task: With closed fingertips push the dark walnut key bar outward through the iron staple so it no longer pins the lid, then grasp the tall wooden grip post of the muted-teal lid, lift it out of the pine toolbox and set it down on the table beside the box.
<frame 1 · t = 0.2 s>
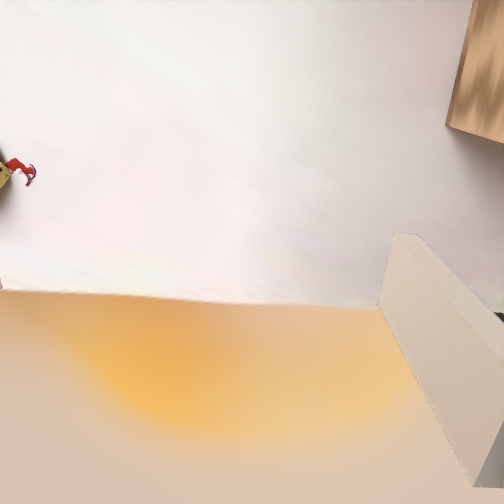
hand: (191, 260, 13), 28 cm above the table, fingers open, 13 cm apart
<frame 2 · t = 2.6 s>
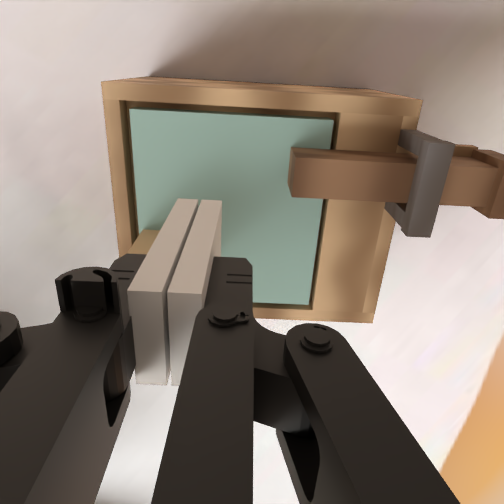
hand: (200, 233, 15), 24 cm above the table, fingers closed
toolbox: (254, 176, 39), on the table
lid: (230, 210, 29), point 10 cm above the table, touching toolbox
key: (396, 177, 25), point 14 cm above the table, slide at 0.0 cm
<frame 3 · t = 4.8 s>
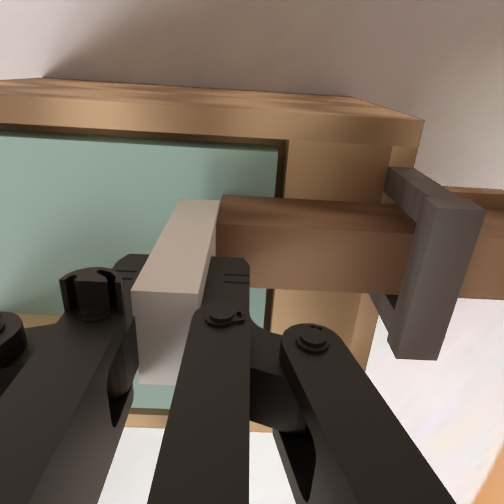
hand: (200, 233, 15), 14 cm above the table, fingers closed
toolbox: (198, 211, 29), on the table
lid: (133, 281, 19), point 10 cm above the table, touching toolbox
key: (392, 249, 15), point 14 cm above the table, slide at 0.5 cm, touching gripper
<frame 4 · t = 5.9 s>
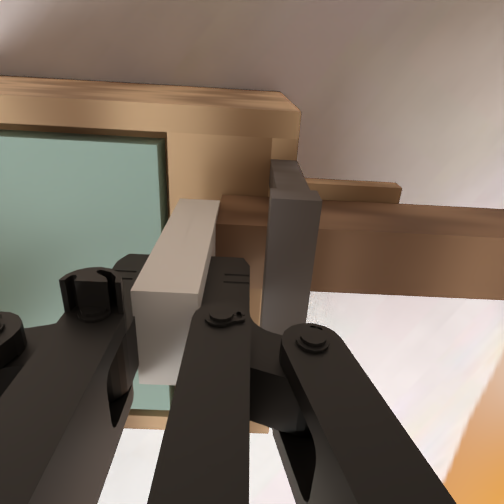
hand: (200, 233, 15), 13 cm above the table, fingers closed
toolbox: (134, 208, 29), on the table
lid: (37, 277, 19), point 10 cm above the table, touching toolbox
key: (393, 249, 15), point 14 cm above the table, slide at 5.2 cm, touching gripper
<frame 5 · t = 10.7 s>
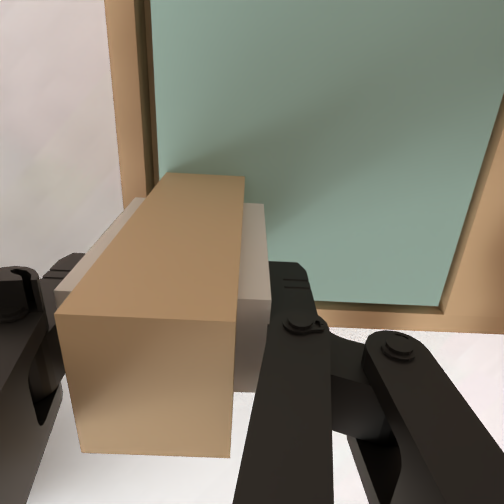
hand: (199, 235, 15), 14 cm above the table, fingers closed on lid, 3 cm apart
toolbox: (321, 116, 26), on the table
lid: (316, 143, 17), point 11 cm above the table, touching gripper, toolbox
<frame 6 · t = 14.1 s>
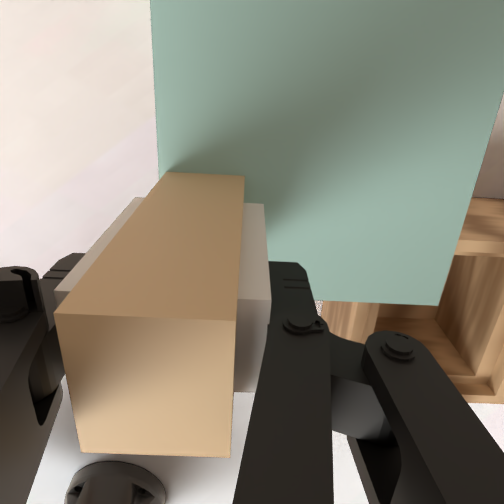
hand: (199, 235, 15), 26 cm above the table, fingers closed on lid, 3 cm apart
toolbox: (415, 266, 45), on the table
lid: (316, 143, 17), point 23 cm above the table, touching gripper
when the fingers open (5 cm above the table, at t = 17.9 s): lid drops 2 cm, on the table.
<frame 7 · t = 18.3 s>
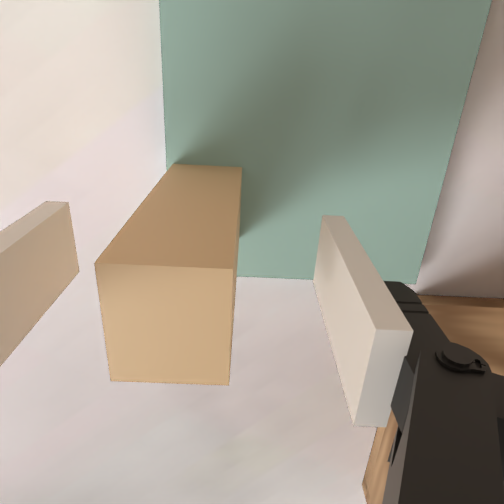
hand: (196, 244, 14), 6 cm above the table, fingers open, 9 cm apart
lid: (305, 138, 19), on the table
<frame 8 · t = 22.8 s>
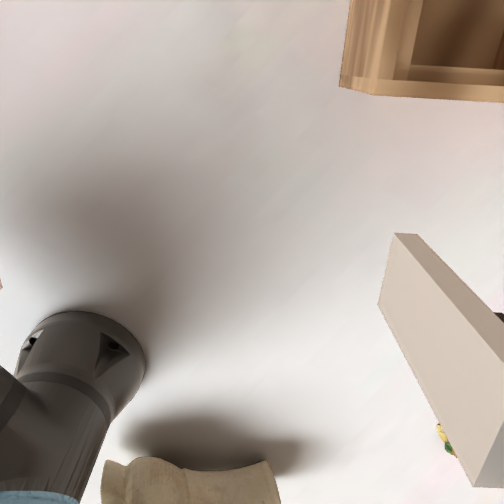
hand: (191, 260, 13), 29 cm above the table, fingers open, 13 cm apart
beige knobby lump: (204, 469, 61), on the table
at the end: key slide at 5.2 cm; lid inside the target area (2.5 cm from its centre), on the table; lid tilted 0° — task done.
